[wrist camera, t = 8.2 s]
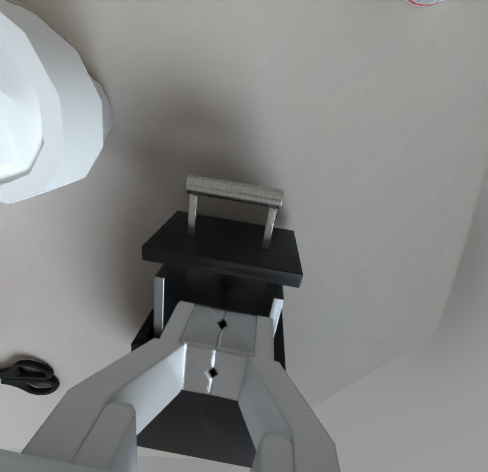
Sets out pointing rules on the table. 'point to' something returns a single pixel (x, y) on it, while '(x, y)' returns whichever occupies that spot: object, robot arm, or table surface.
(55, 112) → the potted plant
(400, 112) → the table surface
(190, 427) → the black drawer cabinet
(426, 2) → the pill bottle
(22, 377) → the scissors
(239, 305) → the drawer
